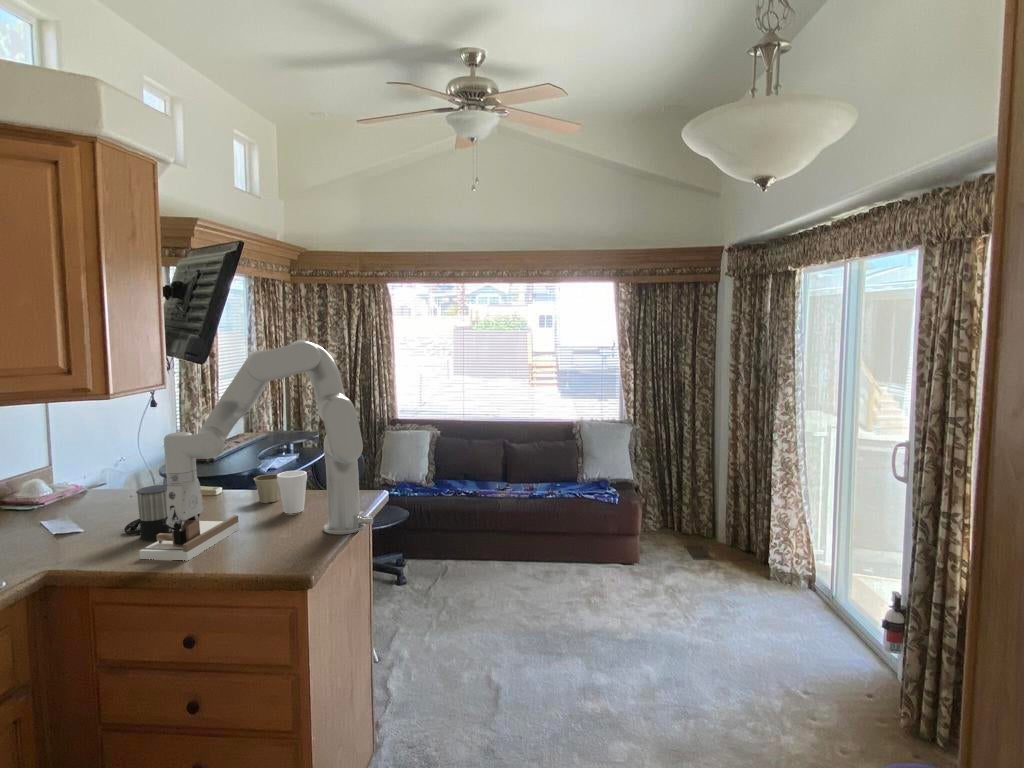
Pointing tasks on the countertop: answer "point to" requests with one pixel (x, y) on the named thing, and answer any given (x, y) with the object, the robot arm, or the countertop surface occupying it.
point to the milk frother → (151, 513)
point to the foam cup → (292, 490)
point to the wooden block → (190, 528)
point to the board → (192, 541)
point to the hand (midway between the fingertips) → (186, 540)
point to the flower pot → (267, 488)
